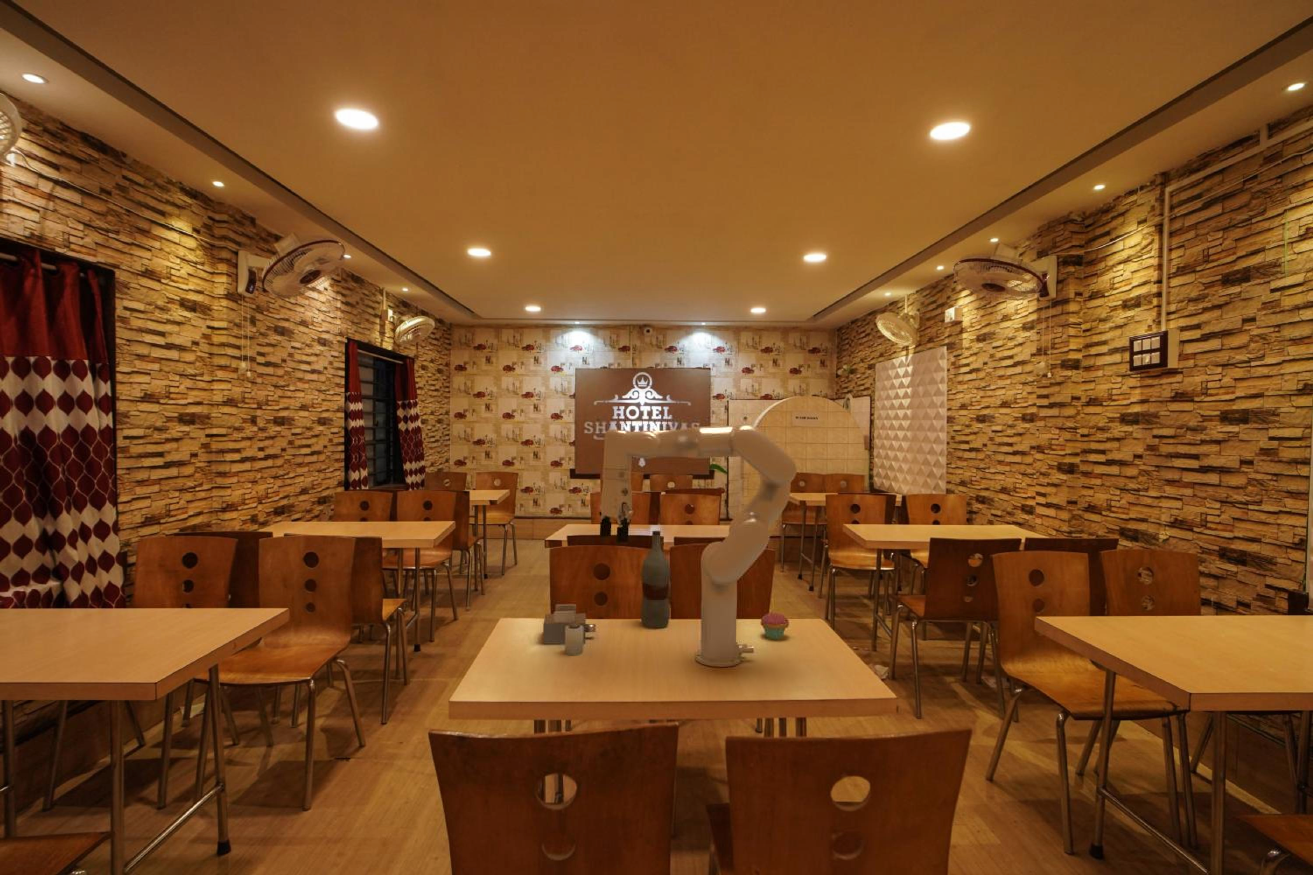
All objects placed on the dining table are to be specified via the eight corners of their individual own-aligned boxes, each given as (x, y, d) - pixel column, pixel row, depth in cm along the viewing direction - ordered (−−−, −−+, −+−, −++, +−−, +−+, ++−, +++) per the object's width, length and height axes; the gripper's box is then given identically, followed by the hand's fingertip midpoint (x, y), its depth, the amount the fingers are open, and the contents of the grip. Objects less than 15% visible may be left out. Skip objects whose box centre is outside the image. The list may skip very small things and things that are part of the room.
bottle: (637, 628, 197) (638, 532, 197) (644, 619, 206) (645, 528, 206) (666, 630, 195) (667, 534, 195) (672, 622, 204) (673, 529, 204)
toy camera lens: (583, 649, 177) (583, 621, 177) (582, 655, 172) (583, 626, 172) (565, 649, 176) (565, 621, 176) (564, 655, 171) (564, 627, 171)
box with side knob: (595, 630, 194) (595, 601, 194) (595, 643, 182) (596, 612, 182) (546, 631, 192) (546, 602, 192) (543, 644, 180) (543, 613, 180)
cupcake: (755, 633, 193) (756, 594, 193) (780, 631, 196) (780, 593, 196) (768, 642, 185) (769, 601, 185) (794, 640, 187) (794, 600, 187)
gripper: (645, 478, 164) (641, 543, 164) (614, 473, 179) (611, 533, 179) (619, 478, 160) (616, 545, 160) (590, 473, 175) (587, 534, 175)
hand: (613, 539), depth 169 cm, fingers open, 9 cm apart
